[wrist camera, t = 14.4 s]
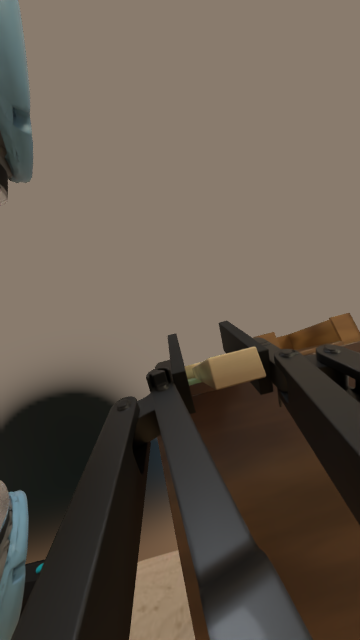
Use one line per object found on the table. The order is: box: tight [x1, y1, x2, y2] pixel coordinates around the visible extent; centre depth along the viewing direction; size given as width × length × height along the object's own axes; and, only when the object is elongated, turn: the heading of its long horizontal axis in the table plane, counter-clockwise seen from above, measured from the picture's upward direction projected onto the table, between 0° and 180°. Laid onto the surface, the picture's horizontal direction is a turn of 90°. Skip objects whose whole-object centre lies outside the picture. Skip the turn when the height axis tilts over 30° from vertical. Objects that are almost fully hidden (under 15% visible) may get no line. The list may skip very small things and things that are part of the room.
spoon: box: [185, 347, 266, 390], centre depth 18 cm, size 23×6×2 cm, turn 0°
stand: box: [157, 341, 360, 640], centre depth 20 cm, size 12×23×29 cm, turn 90°
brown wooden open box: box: [254, 313, 360, 355], centre depth 25 cm, size 12×11×3 cm
